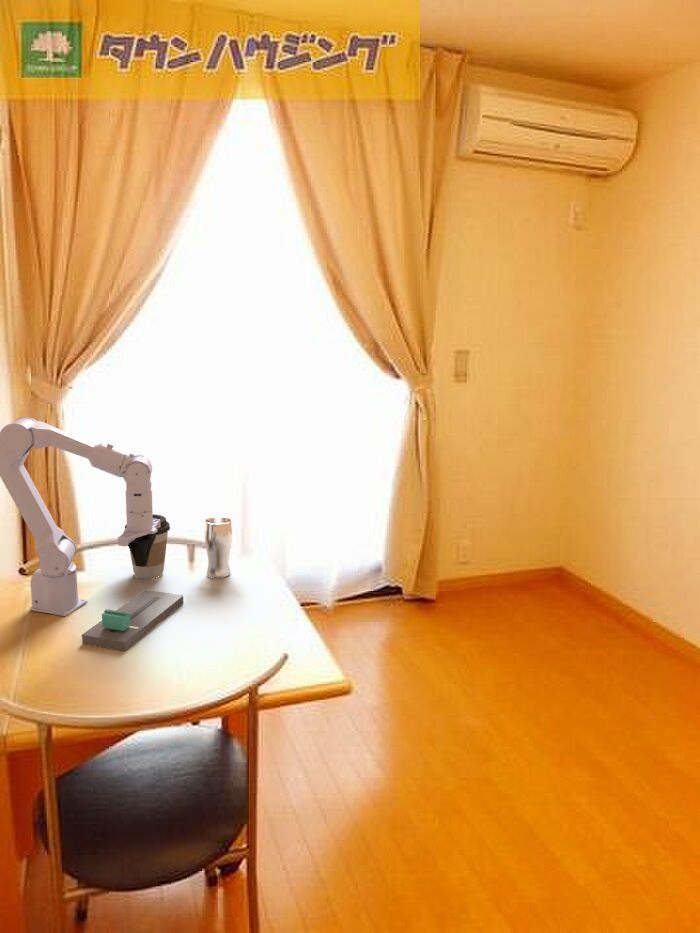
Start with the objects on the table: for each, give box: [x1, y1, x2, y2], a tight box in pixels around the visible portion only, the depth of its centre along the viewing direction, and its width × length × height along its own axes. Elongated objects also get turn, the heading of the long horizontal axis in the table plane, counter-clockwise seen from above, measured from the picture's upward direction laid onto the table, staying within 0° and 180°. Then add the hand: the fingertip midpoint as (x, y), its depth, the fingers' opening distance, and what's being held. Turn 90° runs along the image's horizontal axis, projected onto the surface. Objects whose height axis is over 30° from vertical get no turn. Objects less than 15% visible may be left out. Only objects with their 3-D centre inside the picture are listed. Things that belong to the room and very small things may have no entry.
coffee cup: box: [123, 513, 171, 580], centre depth 170 cm, size 11×11×15 cm
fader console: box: [81, 589, 184, 652], centre depth 145 cm, size 10×24×2 cm, turn 166°
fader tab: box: [101, 609, 130, 631], centre depth 137 cm, size 5×2×3 cm, turn 76°
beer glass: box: [204, 515, 233, 579], centre depth 172 cm, size 7×7×15 cm
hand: (141, 565), depth 153 cm, fingers closed
